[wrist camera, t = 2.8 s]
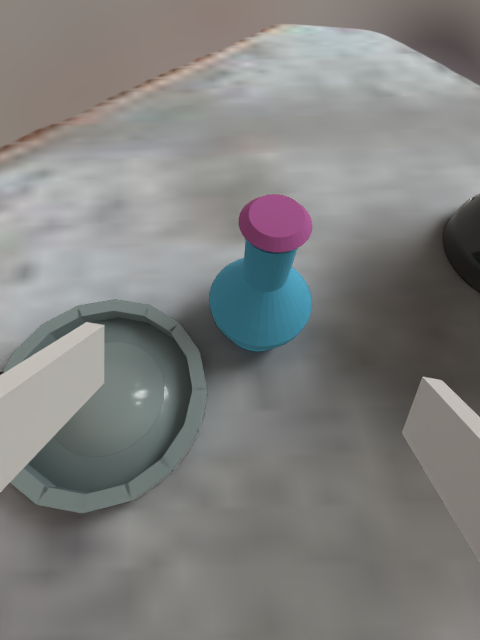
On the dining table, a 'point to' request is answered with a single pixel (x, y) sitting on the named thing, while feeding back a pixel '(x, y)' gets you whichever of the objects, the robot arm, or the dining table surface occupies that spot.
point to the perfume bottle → (265, 277)
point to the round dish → (119, 410)
